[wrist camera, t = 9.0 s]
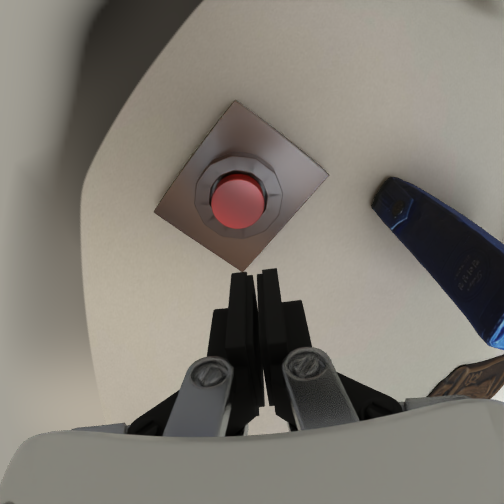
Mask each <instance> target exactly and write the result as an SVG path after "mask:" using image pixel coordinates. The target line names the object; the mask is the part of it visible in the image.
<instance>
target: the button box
mask: <svg viewBox="0 0 504 504" xmlns="http://www.w3.org/2000/svg"><path fill="white" fill-rule="evenodd" d="M232 174H245V175H248V176H250V177H252V178H253V179H255V180H256V181H257V182H258V183H259V185H260V186H261V188H262V191H263V196H264V210H263V213H262V215H261V217H260V218H259V220H258V221H257V222H256V223H254V224H253V225H251V226H249V227H246V228H242V229H234V228H230V227H227V226H225V225H223V224H222V223H220V222H219V221H218V220H217V219H216V217H215V216H214V214H213V211H212V207H211V201H212V196H213V193H214V190H215V188H216V186H217V184H218V183H219V182H220V181H221V180H222V179H223V178H225V177H227V176H229V175H232ZM328 176H329V174H328V173H327V172H326V171H325V170H324V169H323V168H322V167H321V166H320V165H318V164H317V163H316V162H315V161H314V160H313V159H311V158H310V157H309V156H308V155H307V154H305V153H304V152H303V151H302V150H301V149H299V148H298V147H297V146H296V145H294V144H293V143H292V142H291V141H289V140H288V139H287V138H286V137H285V136H283V135H282V134H281V133H279V132H278V131H277V130H276V129H274V128H273V127H272V126H271V125H269V124H268V123H267V122H265V121H264V120H263V119H261V118H260V117H259V116H257V115H256V114H255V113H253V112H252V111H251V110H249V109H248V108H247V107H245V106H244V105H243V104H241V103H240V102H239V101H237V100H235V101H234V102H233V103H232V104H231V106H230V107H229V108H228V109H227V111H226V112H225V113H224V114H223V116H222V117H221V118H220V120H219V121H218V122H217V123H216V125H215V126H214V127H213V129H212V130H211V131H210V133H209V134H208V135H207V136H206V138H205V139H204V140H203V142H202V143H201V145H200V146H199V147H198V149H197V150H196V151H195V153H194V154H193V155H192V157H191V158H190V160H189V161H188V162H187V164H186V165H185V167H184V168H183V169H182V171H181V172H180V174H179V175H178V176H177V178H176V179H175V181H174V182H173V184H172V185H171V187H170V188H169V189H168V191H167V192H166V194H165V195H164V197H163V198H162V200H161V201H160V203H159V204H158V206H157V207H156V209H155V210H154V213H155V214H157V215H158V216H160V217H161V218H163V219H164V220H166V221H167V222H169V223H170V224H172V225H173V226H175V227H176V228H177V229H179V230H180V231H182V232H183V233H185V234H186V235H188V236H189V237H191V238H192V239H194V240H195V241H197V242H198V243H200V244H201V245H203V246H204V247H206V248H207V249H209V250H210V251H212V252H213V253H215V254H216V255H218V256H219V257H221V258H222V259H224V260H225V261H227V262H228V263H230V264H231V265H233V266H234V267H236V268H237V269H239V270H240V271H242V272H243V271H244V270H245V269H246V268H247V267H248V266H249V265H250V264H251V262H252V261H253V260H254V259H255V258H256V257H257V256H258V255H259V253H260V252H261V251H262V250H263V249H264V248H265V247H266V246H267V245H268V243H269V242H270V241H271V240H272V239H273V238H274V237H275V236H276V234H277V233H278V232H279V231H280V230H281V229H282V228H283V227H284V225H285V224H286V223H287V222H288V221H289V220H290V219H291V218H292V216H293V215H294V214H295V213H296V212H297V211H298V210H299V209H300V208H301V206H302V205H303V204H304V203H305V202H306V201H307V200H308V199H309V197H310V196H311V195H312V194H313V193H314V192H315V191H316V190H317V188H318V187H319V186H320V185H321V184H322V183H323V182H324V180H325V179H326V178H327V177H328Z"/></svg>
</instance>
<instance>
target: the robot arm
mask: <svg viewBox="0 0 504 504" xmlns="http://www.w3.org/2000/svg"><path fill="white" fill-rule="evenodd" d="M257 291H258V307H257V301H256V294H255V288H254V281H253V275H248V276H247V272H240V273H232V275H231V285H230V296H229V307H228V308H225V309H215V310H214V312H213V318H212V324H211V331H210V338H209V345H208V352H207V357H204V358H201V359H199V360H197V361H195V362H194V363H193V364H192V365H191V366H190V367H189V369H188V370H187V372H186V375H185V378H184V380H183V383H182V385H181V388H180V390H179V391H177V392H176V393H174V394H173V395H171V396H170V397H168V398H167V399H166V400H164V401H163V402H161V403H160V404H158V405H157V406H155V407H154V408H152V409H151V410H149V411H148V412H146V413H145V414H143V415H142V416H140V417H139V418H137V419H136V420H135V421H134V422H132V424H131V425H128V426H127V425H126V424H125V423H119V424H111V425H102V426H92V427H81V428H75V429H72V430H64V431H53V432H48V433H43V434H39V435H36V436H33V437H31V438H28V439H27V440H26V441H24V442H23V443H22V444H21V445H20V447H19V448H18V449H17V451H16V453H15V454H14V456H13V458H12V459H11V461H10V463H9V465H8V468H7V470H6V472H5V474H4V477H3V479H2V482H1V484H0V504H504V402H501V401H497V400H491V399H472V398H470V397H468V396H466V395H448V396H437V397H424V398H406V400H405V402H397V401H396V400H395V399H393V398H392V397H390V396H387V395H385V394H383V393H381V392H379V391H376V390H374V389H372V388H370V387H368V386H365V385H363V384H361V383H359V382H357V381H355V380H353V379H350V378H348V377H346V376H344V375H342V374H340V373H338V372H336V370H335V368H334V366H333V364H332V362H331V360H330V358H329V356H328V355H327V354H326V353H325V352H324V351H322V350H320V349H317V348H314V347H312V345H311V340H310V335H309V331H308V326H307V322H306V317H305V313H304V308H303V304H302V301H301V300H297V301H289V302H281V295H280V288H279V281H278V274H277V268H275V269H266V270H262V274H257ZM263 370H264V376H265V382H266V388H267V395H268V401H269V406H275V412H276V415H278V416H279V417H281V418H282V419H284V420H285V421H287V424H288V429H289V432H286V433H276V434H264V435H250V436H247V435H248V423H249V422H250V421H251V420H252V419H254V418H255V417H256V416H259V407H264V406H265V402H264V378H263Z"/></svg>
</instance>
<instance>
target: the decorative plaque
mask: <svg viewBox="0 0 504 504" xmlns="http://www.w3.org/2000/svg"><path fill="white" fill-rule="evenodd" d="M503 385H504V355H502V356H499V357H496V358H493V359H489V360H486V361H483V362H479V363H475V364H471V365H466V366H463V367H460V368H458V369H456V370H455V371H454V372H452V373H451V374H450V375H449V376H447V377H446V378H445V379H444V380H443V381H441V382H440V383H439V384H438V386H437V387H436V388H435V389H434V390H433V391H432V393H431V394H430V395H429V397H437V396H448V395H466V396H468V397H470V398H472V399H491V398H492V397H493V396H494V395H495V394H496V393H497V392H498V391H499V390H500V388H501V387H502V386H503Z"/></svg>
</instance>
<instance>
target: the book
mask: <svg viewBox="0 0 504 504" xmlns="http://www.w3.org/2000/svg"><path fill="white" fill-rule="evenodd" d="M372 209H373V210H374V211H375V212H376V213H377V215H378V216H379V217H380V218H381V220H382V221H383V222H384V223H385V224H386V225H387V226H388V227H389V228H390V230H391V231H392V232H393V233H394V234H395V235H396V236H397V238H398V239H399V240H400V241H401V242H402V243H403V244H404V245H405V246H406V247H407V248H408V249H409V251H410V252H411V253H412V254H413V255H414V256H415V257H416V259H417V260H418V261H419V262H420V264H421V265H422V266H423V267H424V268H426V270H427V271H428V272H429V273H430V274H431V276H432V277H433V278H434V279H435V280H436V282H437V283H438V284H439V285H440V286H441V288H442V289H443V290H444V291H445V292H446V294H447V295H448V296H449V297H450V298H451V299H452V301H453V302H454V303H455V304H456V305H457V307H458V308H459V309H460V310H461V312H462V313H463V314H464V315H465V316H466V317H467V319H468V320H469V322H470V323H471V325H472V326H473V327H474V329H475V330H476V332H477V333H478V335H479V336H480V337H481V338H482V339H483V340H484V341H485V342H486V343H487V345H489V346H491V347H494V348H498V349H502V350H504V244H502V243H501V242H500V241H498V240H497V239H496V238H494V237H493V236H492V235H490V234H489V233H488V232H486V231H485V230H484V229H482V228H481V227H479V226H478V225H477V224H475V223H474V222H472V221H471V220H469V219H468V218H466V217H465V216H463V215H462V214H460V213H459V212H457V211H456V210H454V209H453V208H451V207H450V206H448V205H446V204H445V203H443V202H442V201H440V200H439V199H437V198H435V197H434V196H432V195H430V194H429V193H427V192H425V191H424V190H422V189H420V188H418V187H417V186H415V185H413V184H411V183H409V182H406V181H403V180H402V179H400V178H396V177H390V178H388V179H387V180H386V181H385V182H384V184H383V185H382V187H381V188H380V190H379V192H378V193H377V195H376V196H375V197H374V201H373V203H372Z"/></svg>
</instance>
